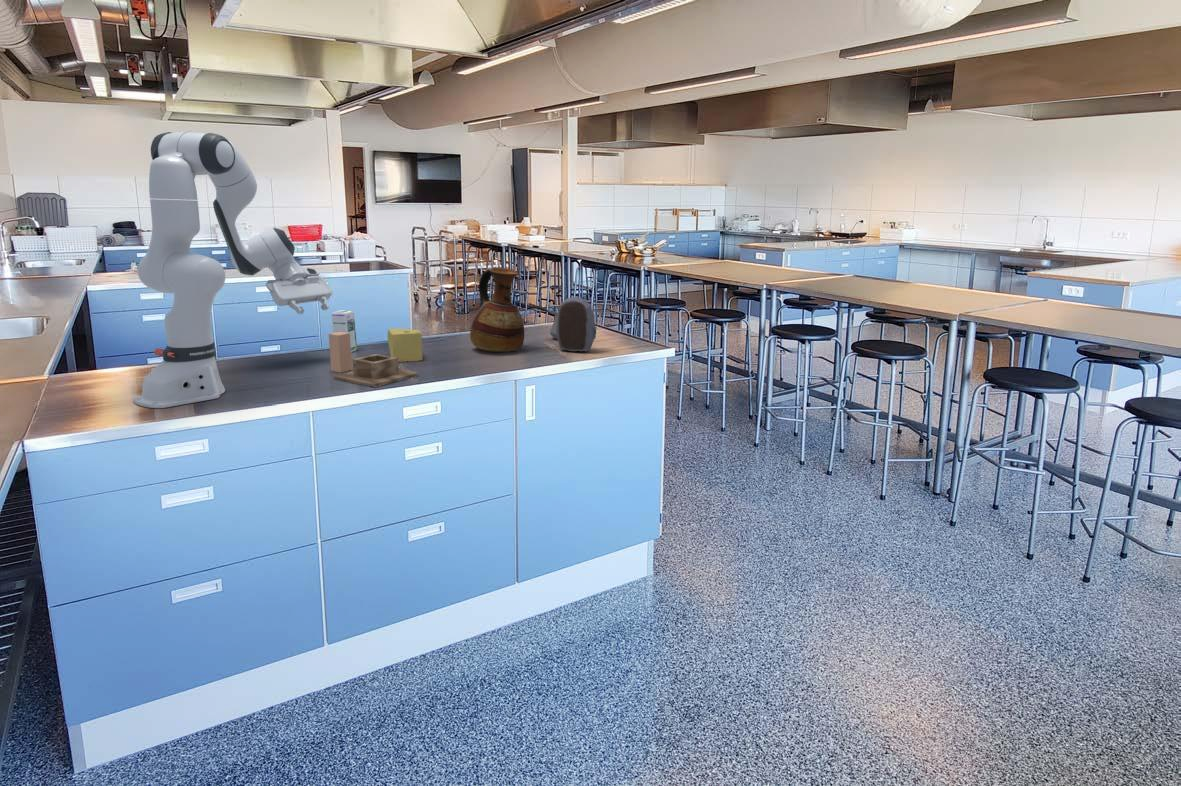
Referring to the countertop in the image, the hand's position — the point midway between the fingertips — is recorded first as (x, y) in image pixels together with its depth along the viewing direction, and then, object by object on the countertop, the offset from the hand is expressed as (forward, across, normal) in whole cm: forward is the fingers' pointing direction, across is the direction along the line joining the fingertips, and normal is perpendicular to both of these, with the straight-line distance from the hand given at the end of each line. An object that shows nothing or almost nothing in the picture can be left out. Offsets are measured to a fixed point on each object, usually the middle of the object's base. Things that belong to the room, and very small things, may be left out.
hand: (314, 310), depth 238 cm
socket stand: (+32, 0, -7) cm, 33 cm away
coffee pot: (+39, +82, -13) cm, 92 cm away
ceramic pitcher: (+35, +54, -9) cm, 65 cm away
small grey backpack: (+52, +70, -26) cm, 91 cm away
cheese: (+24, +24, +2) cm, 34 cm away
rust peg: (+21, 0, +5) cm, 21 cm away
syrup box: (+6, +20, +20) cm, 29 cm away
